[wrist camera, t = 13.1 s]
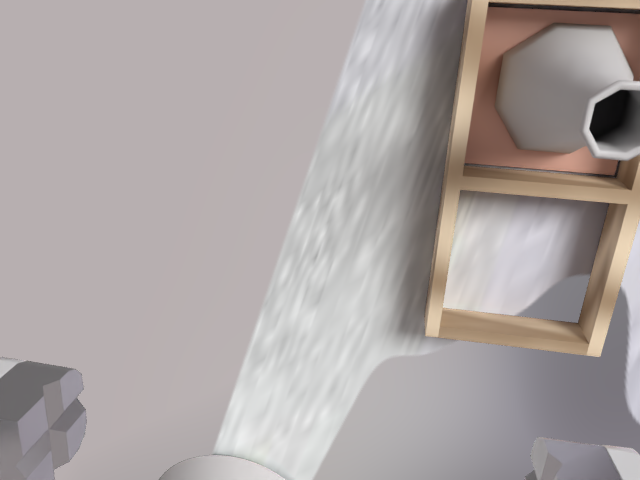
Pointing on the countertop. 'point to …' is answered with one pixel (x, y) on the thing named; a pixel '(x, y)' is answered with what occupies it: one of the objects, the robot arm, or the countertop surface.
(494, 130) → the oak caddy
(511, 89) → the flask
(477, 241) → the countertop surface
